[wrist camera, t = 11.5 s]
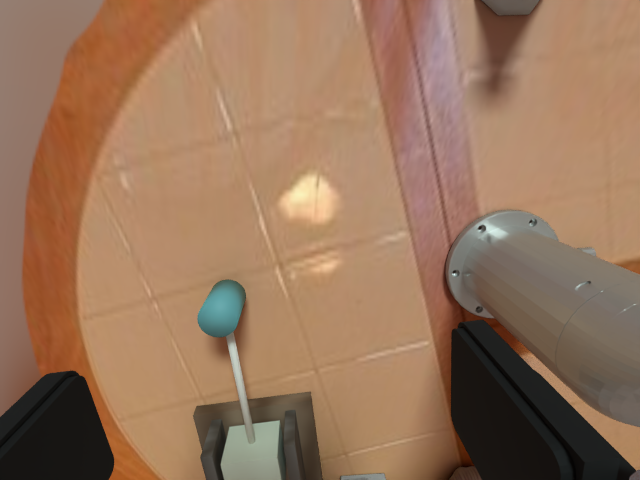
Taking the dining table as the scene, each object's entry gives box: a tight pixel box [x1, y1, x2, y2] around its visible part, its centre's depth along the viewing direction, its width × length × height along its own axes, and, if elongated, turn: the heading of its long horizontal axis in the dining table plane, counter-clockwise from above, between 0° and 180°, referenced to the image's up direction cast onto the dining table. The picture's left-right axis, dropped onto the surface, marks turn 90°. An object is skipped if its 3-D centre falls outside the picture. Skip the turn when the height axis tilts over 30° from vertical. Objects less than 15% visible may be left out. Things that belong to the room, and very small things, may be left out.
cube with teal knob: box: [198, 280, 286, 480], centre depth 37 cm, size 6×25×5 cm, turn 6°
